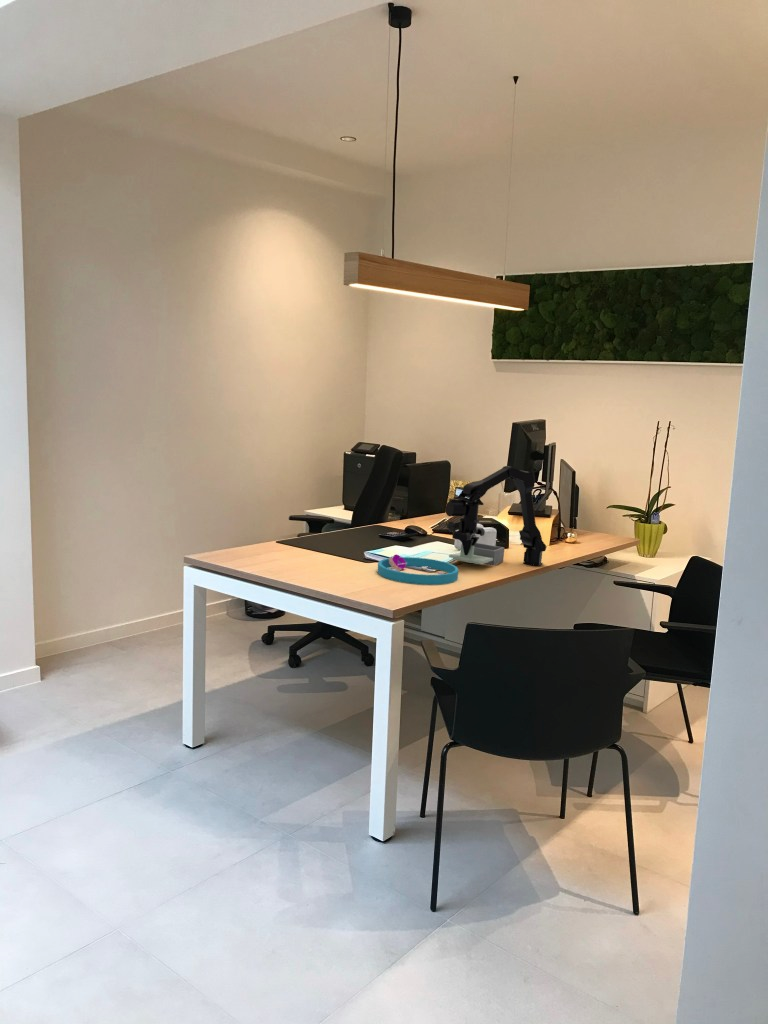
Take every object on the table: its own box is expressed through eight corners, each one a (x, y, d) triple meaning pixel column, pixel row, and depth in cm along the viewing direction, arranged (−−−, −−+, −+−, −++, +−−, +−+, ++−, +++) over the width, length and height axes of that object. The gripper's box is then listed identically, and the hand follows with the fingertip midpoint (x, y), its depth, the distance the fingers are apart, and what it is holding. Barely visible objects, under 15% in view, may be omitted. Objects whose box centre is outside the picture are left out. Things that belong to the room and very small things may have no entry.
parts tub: (503, 561, 343) (504, 547, 342) (493, 565, 334) (494, 551, 333) (472, 556, 350) (473, 542, 349) (461, 560, 340) (463, 545, 339)
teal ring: (406, 563, 328) (407, 548, 327) (472, 577, 311) (473, 562, 311) (361, 574, 304) (362, 558, 303) (430, 590, 287) (431, 573, 286)
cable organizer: (481, 549, 368) (483, 523, 366) (495, 554, 359) (498, 527, 357) (453, 550, 360) (455, 524, 359) (467, 555, 351) (469, 528, 350)
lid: (492, 562, 332) (494, 546, 331) (481, 565, 322) (483, 548, 321) (459, 556, 339) (461, 540, 338) (448, 559, 329) (450, 542, 328)
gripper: (461, 510, 335) (457, 548, 338) (441, 515, 319) (438, 554, 322) (486, 514, 330) (483, 552, 333) (468, 519, 314) (464, 559, 316)
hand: (466, 554), depth 326 cm, fingers closed on lid
